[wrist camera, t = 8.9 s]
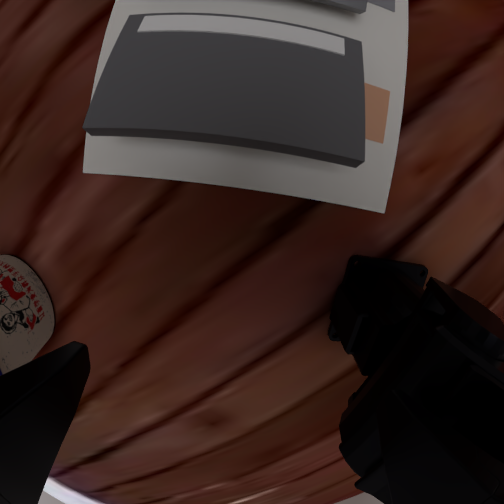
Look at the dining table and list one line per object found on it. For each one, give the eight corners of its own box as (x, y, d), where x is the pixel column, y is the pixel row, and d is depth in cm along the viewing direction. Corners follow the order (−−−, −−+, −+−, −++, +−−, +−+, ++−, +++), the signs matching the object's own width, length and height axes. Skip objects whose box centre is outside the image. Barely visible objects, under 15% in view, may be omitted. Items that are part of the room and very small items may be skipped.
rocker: (355, 51, 13) (362, 40, 11) (355, 168, 12) (365, 160, 11) (133, 26, 12) (129, 13, 11) (91, 135, 11) (81, 127, 10)
